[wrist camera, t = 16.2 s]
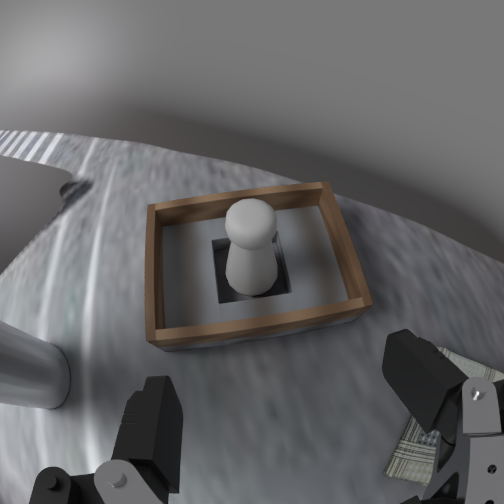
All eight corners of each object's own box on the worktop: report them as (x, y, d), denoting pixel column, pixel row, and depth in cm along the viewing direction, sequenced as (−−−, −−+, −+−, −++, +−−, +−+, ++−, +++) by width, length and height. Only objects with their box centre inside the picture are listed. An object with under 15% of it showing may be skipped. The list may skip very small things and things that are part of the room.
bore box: (164, 351, 29) (146, 340, 24) (160, 232, 37) (147, 204, 32) (354, 320, 31) (373, 304, 26) (319, 210, 38) (328, 181, 33)
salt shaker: (230, 255, 35) (220, 184, 24) (276, 259, 35) (287, 188, 23) (224, 300, 32) (209, 242, 21) (274, 304, 32) (286, 248, 21)
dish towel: (376, 475, 22) (387, 481, 19) (432, 346, 29) (446, 340, 26) (467, 492, 17) (480, 495, 14) (507, 384, 25) (521, 380, 22)
